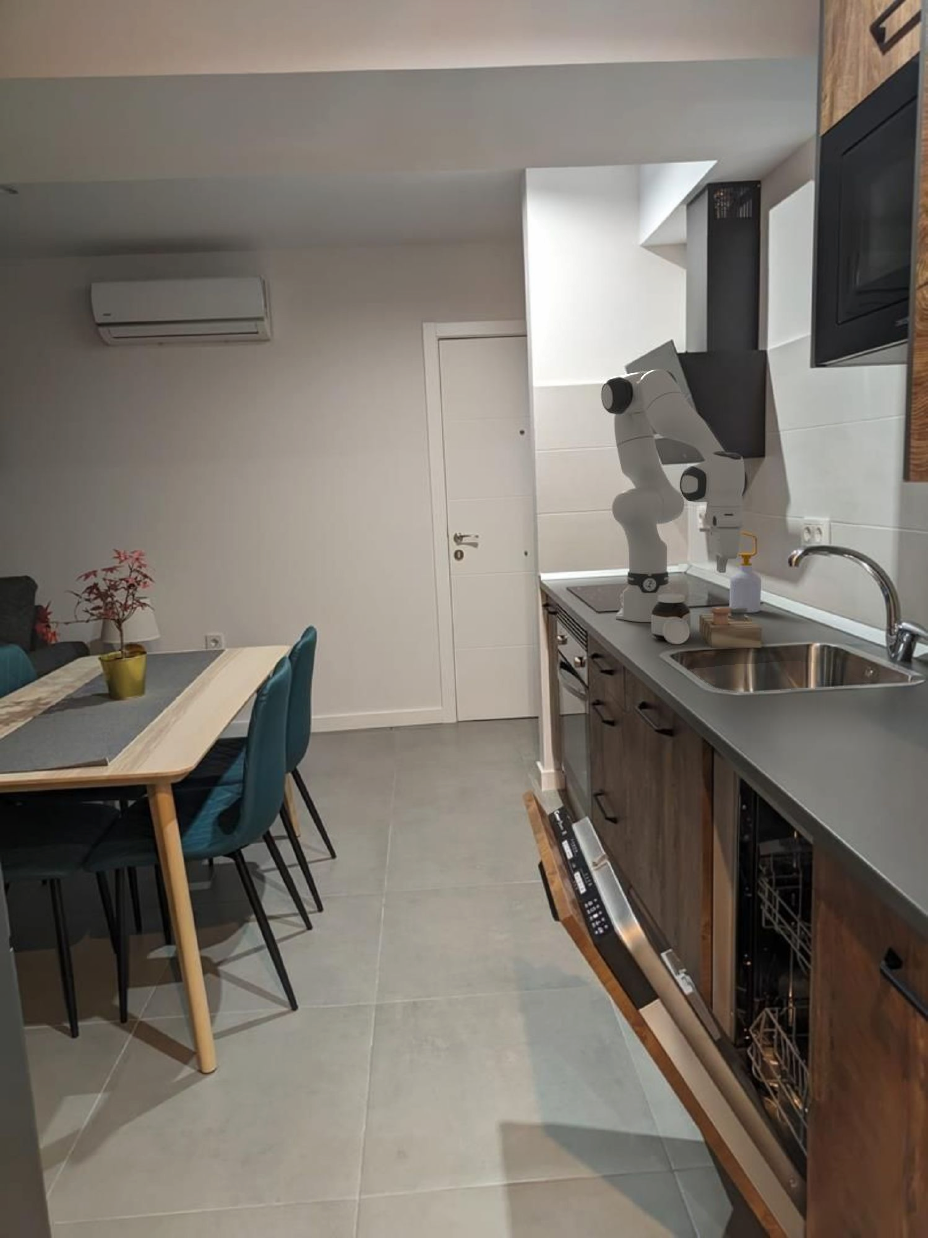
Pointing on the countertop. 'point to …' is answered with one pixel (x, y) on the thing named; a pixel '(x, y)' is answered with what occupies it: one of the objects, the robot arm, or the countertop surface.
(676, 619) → the spread jar
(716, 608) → the terracotta plug
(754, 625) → the oak block
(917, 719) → the countertop surface
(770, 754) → the countertop surface
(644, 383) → the robot arm
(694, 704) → the countertop surface
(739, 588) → the soap bottle
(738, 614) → the grey plug
